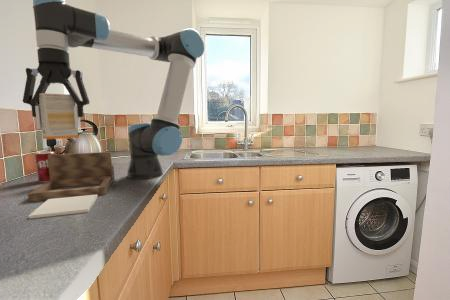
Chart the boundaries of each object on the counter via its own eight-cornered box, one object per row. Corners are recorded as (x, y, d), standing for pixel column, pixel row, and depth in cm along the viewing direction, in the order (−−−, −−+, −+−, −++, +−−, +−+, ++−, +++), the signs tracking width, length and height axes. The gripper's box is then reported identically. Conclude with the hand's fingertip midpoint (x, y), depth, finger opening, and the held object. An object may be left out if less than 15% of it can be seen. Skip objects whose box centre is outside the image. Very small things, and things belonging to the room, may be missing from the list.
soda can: (36, 180, 104) (32, 152, 103) (56, 177, 110) (53, 150, 108) (40, 183, 99) (36, 154, 98) (61, 180, 105) (58, 152, 103)
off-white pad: (97, 196, 82) (97, 194, 82) (88, 211, 69) (88, 209, 69) (48, 201, 78) (48, 199, 78) (28, 218, 65) (28, 215, 65)
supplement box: (73, 137, 79) (69, 95, 78) (78, 137, 76) (75, 94, 74) (41, 138, 73) (37, 93, 72) (46, 139, 70) (42, 92, 68)
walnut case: (115, 180, 104) (112, 151, 103) (107, 194, 85) (105, 159, 83) (52, 185, 97) (48, 154, 96) (29, 201, 78) (24, 164, 77)
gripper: (97, 55, 78) (102, 127, 81) (15, 50, 72) (23, 128, 75) (91, 49, 71) (97, 128, 73) (-1, 43, 65) (9, 129, 68)
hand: (59, 128), depth 74 cm, fingers closed on supplement box, 9 cm apart
